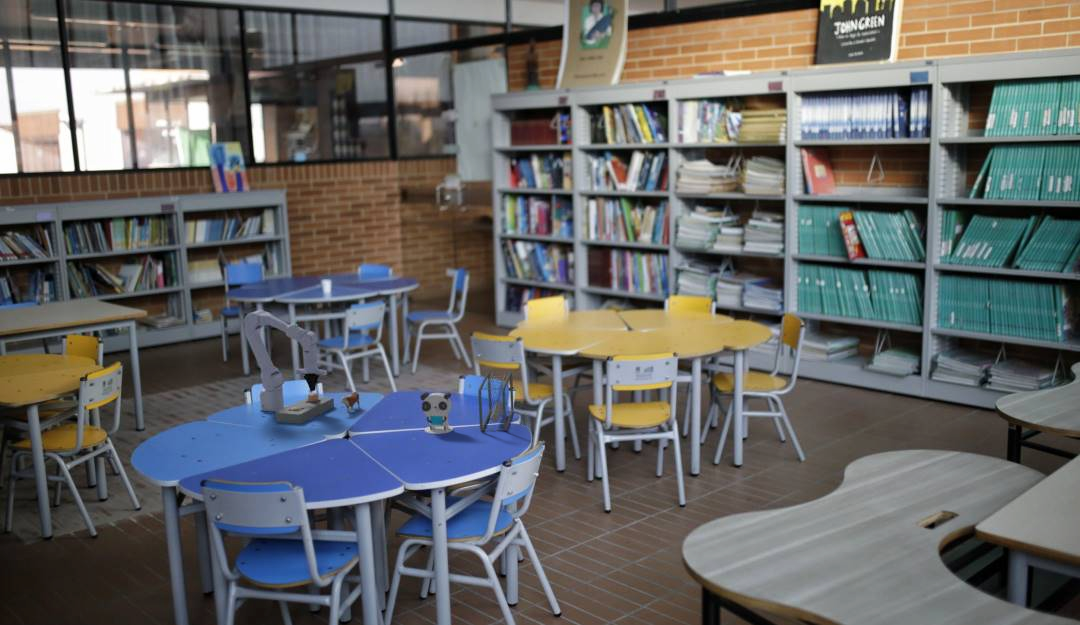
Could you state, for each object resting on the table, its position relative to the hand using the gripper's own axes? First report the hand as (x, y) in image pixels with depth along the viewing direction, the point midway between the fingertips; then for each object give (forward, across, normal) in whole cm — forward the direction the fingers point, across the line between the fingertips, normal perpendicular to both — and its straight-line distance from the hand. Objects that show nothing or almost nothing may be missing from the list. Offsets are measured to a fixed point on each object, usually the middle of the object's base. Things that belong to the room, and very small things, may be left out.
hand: (312, 390), depth 416 cm
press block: (+9, 0, -6) cm, 11 cm away
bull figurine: (+9, +17, +2) cm, 19 cm away
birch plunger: (+8, 0, -13) cm, 15 cm away
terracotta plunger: (+5, 0, 0) cm, 5 cm away
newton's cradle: (+9, +85, +2) cm, 86 cm away
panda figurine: (+9, +66, -14) cm, 68 cm away
